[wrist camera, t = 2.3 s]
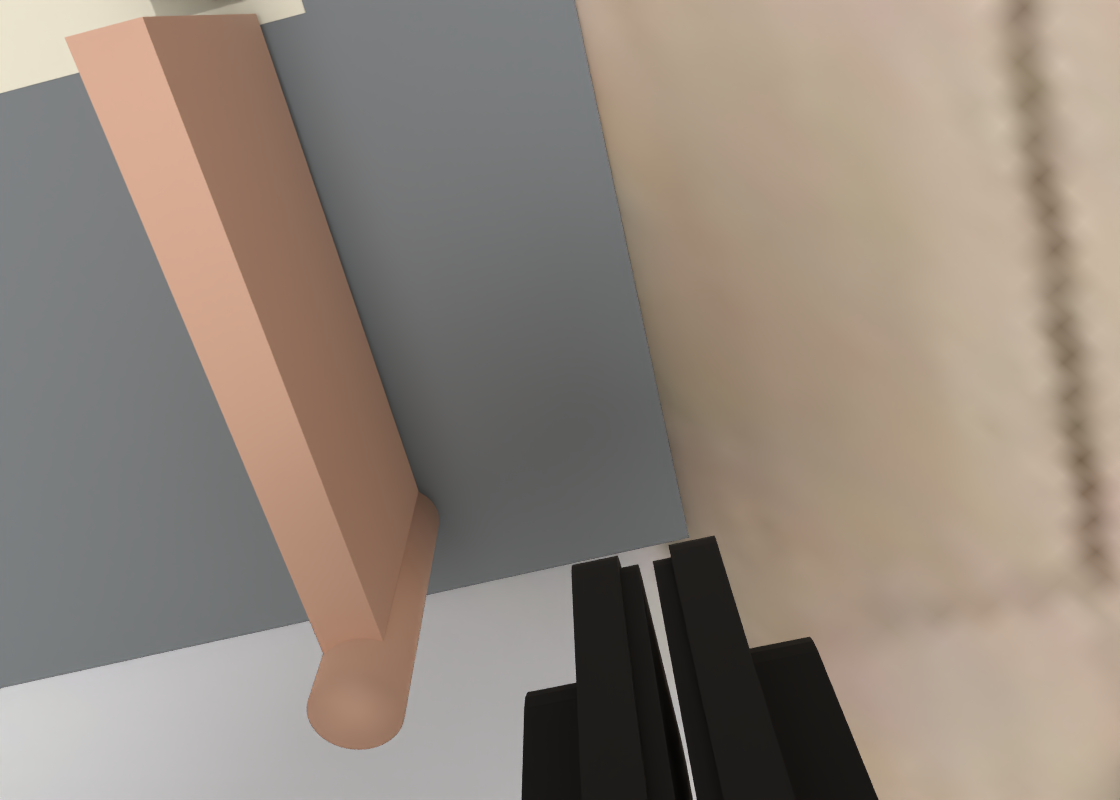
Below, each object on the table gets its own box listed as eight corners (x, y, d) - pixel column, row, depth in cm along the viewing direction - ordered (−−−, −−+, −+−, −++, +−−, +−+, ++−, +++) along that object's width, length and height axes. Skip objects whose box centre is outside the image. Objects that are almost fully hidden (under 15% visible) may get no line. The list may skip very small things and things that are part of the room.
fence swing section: (186, 31, 19) (9, 45, 13) (269, 9, 19) (134, 12, 12) (380, 556, 24) (325, 758, 18) (448, 541, 24) (416, 738, 17)
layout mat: (686, 529, 25) (689, 538, 24) (-73, 696, 26) (-83, 707, 26) (288, -1334, 13) (279, -1378, 13) (-1063, -841, 14) (-1113, -867, 14)
